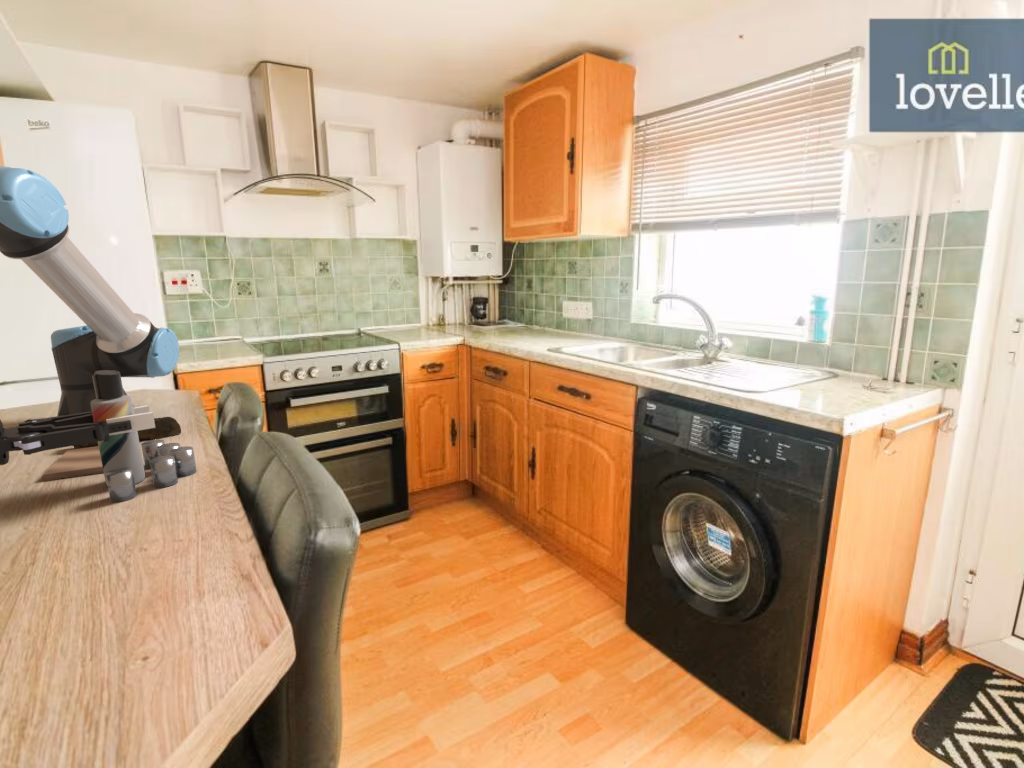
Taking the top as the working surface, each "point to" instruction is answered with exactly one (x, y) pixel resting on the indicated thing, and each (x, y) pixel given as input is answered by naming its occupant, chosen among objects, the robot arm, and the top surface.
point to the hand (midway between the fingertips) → (151, 416)
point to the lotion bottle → (114, 405)
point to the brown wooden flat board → (76, 464)
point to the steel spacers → (153, 469)
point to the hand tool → (150, 431)
